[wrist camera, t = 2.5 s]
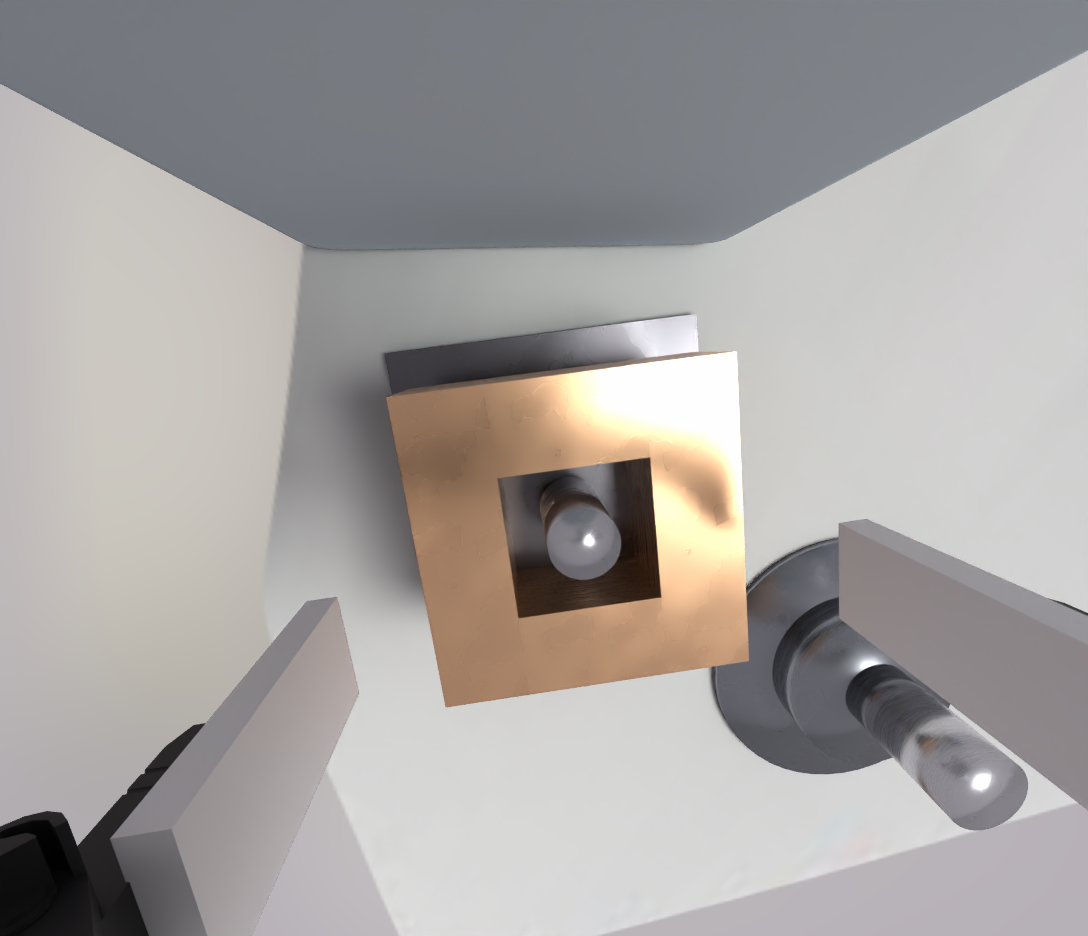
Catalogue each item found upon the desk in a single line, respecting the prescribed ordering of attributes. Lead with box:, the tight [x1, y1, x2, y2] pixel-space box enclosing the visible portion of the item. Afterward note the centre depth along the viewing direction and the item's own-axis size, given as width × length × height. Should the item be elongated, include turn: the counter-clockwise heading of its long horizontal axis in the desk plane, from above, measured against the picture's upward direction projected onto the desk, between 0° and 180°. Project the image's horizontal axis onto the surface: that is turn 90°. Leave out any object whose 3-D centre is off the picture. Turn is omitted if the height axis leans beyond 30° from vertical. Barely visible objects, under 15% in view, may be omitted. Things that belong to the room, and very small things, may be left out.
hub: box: [714, 538, 1028, 830], centre depth 24 cm, size 14×14×9 cm
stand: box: [385, 314, 699, 580], centre depth 21 cm, size 14×14×8 cm
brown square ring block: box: [386, 352, 749, 707], centre depth 19 cm, size 11×11×4 cm
